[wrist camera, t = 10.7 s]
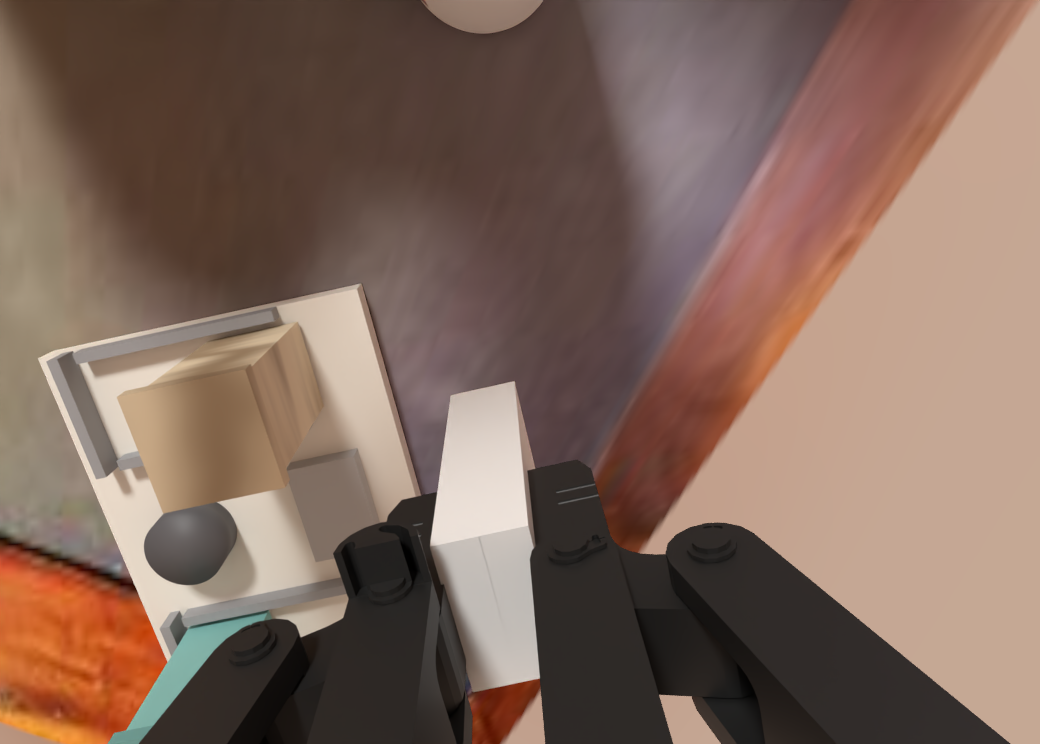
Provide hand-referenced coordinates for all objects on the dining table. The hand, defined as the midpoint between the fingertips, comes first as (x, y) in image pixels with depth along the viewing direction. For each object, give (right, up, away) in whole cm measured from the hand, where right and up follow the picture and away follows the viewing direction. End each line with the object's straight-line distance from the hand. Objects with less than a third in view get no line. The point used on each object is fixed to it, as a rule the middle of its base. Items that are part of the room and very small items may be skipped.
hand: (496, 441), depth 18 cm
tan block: (-13, +2, +24) cm, 28 cm away
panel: (-15, -6, +29) cm, 33 cm away
